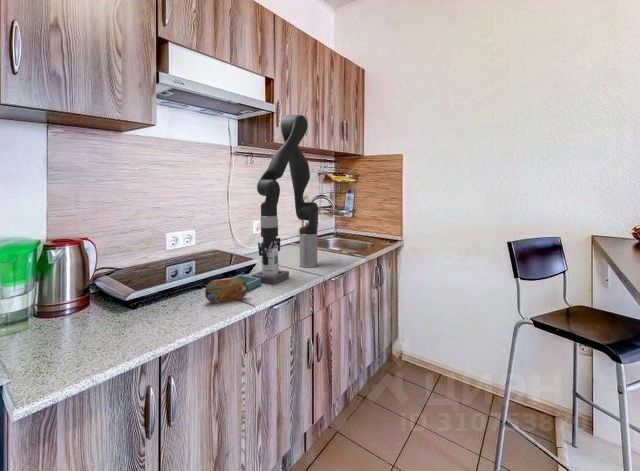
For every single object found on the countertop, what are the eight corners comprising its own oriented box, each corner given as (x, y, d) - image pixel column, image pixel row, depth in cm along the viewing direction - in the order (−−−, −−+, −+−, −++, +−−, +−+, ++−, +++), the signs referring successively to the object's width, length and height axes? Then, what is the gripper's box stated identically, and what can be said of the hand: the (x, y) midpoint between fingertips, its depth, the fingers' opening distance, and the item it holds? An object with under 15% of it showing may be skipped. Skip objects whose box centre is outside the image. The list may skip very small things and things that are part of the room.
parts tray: (239, 281, 137) (239, 274, 137) (261, 285, 132) (260, 278, 132) (220, 289, 127) (220, 282, 126) (243, 293, 122) (243, 286, 121)
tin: (206, 305, 111) (204, 282, 109) (205, 302, 113) (204, 279, 112) (248, 299, 116) (247, 277, 115) (246, 296, 119) (246, 275, 118)
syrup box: (274, 281, 136) (273, 249, 134) (262, 281, 138) (261, 249, 135) (279, 278, 142) (278, 247, 140) (266, 277, 143) (265, 246, 141)
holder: (267, 274, 148) (267, 268, 147) (289, 277, 143) (288, 271, 142) (251, 281, 137) (251, 274, 137) (274, 285, 132) (274, 278, 131)
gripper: (271, 223, 144) (272, 258, 147) (252, 227, 131) (253, 265, 134) (285, 224, 141) (286, 260, 143) (266, 228, 128) (267, 267, 131)
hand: (270, 262), depth 139 cm, fingers closed on syrup box, 6 cm apart
